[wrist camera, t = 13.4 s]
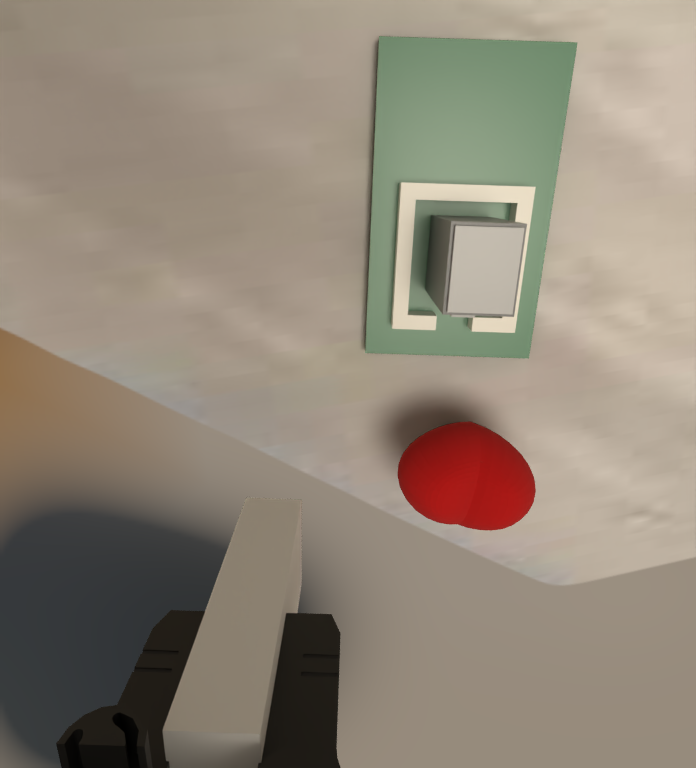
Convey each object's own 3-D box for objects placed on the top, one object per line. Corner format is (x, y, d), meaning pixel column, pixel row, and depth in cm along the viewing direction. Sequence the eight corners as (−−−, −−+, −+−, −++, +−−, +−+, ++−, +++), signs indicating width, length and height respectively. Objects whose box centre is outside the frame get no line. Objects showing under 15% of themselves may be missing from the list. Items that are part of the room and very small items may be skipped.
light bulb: (518, 406, 42) (565, 469, 32) (492, 483, 44) (529, 562, 34) (401, 384, 41) (415, 441, 32) (382, 463, 43) (389, 538, 34)
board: (378, 41, 33) (380, 29, 31) (569, 47, 33) (587, 35, 31) (365, 348, 40) (365, 359, 38) (523, 353, 40) (535, 364, 37)
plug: (431, 215, 35) (452, 221, 28) (490, 217, 35) (528, 224, 28) (424, 303, 38) (441, 333, 30) (480, 305, 38) (513, 335, 30)
